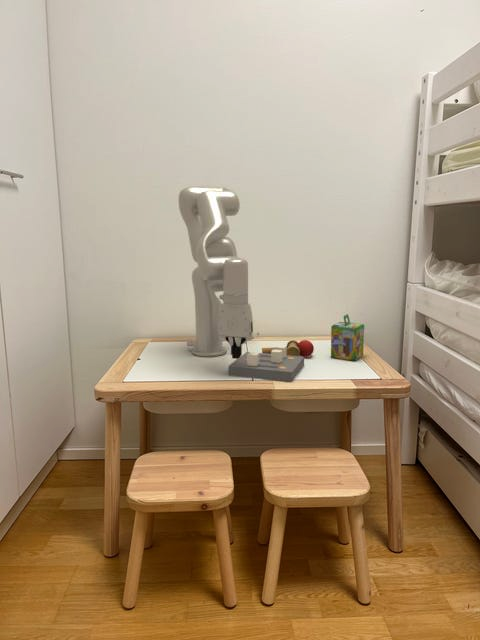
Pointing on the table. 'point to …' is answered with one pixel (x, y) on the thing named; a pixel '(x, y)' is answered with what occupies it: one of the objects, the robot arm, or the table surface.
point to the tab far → (284, 350)
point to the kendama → (295, 348)
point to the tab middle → (276, 356)
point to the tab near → (253, 359)
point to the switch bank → (267, 368)
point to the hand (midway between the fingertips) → (236, 357)
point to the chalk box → (347, 340)
